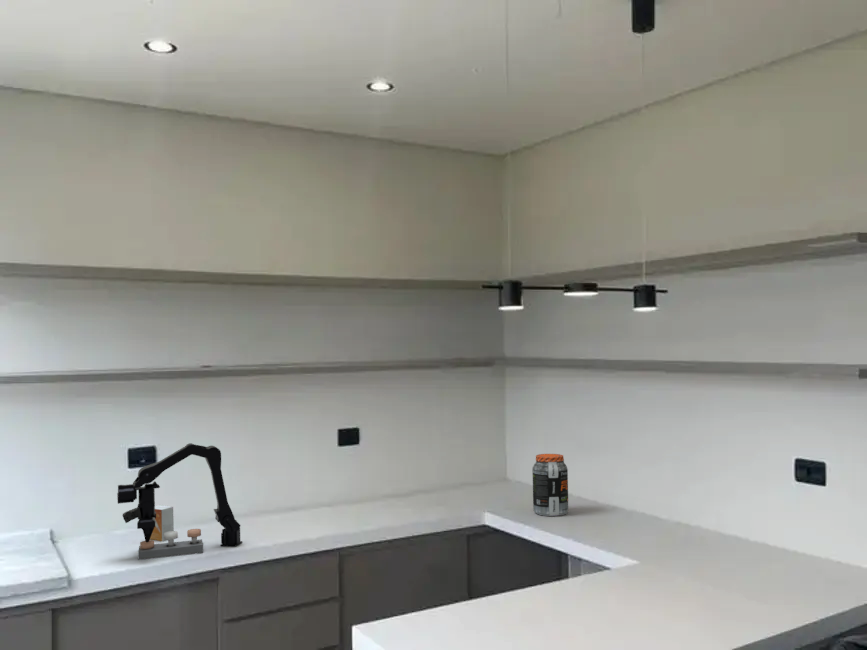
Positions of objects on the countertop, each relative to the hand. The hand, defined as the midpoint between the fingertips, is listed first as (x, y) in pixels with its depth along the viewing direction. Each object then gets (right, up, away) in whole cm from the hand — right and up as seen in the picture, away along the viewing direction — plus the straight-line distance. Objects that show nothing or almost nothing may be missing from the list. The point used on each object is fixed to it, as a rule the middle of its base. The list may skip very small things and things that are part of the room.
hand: (147, 542), depth 287 cm
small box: (-4, -6, +25) cm, 26 cm away
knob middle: (+8, -2, +3) cm, 9 cm away
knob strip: (+8, -5, +3) cm, 10 cm away
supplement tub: (+161, -3, +54) cm, 170 cm away
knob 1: (0, -5, 0) cm, 5 cm away
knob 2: (+16, -2, +6) cm, 17 cm away
